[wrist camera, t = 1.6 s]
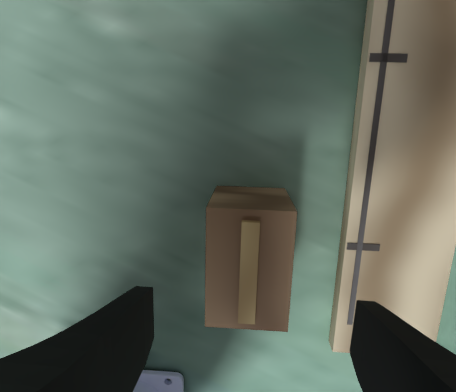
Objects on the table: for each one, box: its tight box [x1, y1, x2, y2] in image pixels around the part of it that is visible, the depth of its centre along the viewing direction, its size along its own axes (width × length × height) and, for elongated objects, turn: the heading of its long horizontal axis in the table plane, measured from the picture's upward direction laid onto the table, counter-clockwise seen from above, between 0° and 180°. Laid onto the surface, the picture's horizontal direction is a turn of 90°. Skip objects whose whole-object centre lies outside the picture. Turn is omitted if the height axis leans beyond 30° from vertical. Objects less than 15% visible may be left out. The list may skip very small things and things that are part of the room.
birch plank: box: [329, 0, 456, 353], centre depth 17 cm, size 6×24×1 cm, turn 178°
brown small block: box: [205, 186, 297, 332], centre depth 17 cm, size 4×6×5 cm, turn 179°
